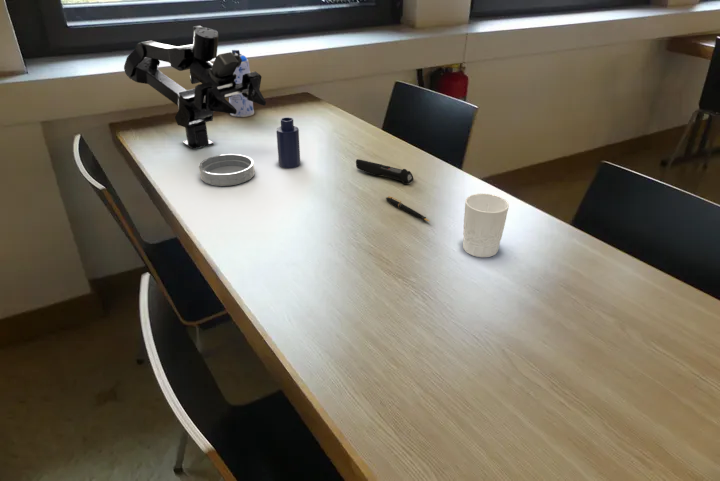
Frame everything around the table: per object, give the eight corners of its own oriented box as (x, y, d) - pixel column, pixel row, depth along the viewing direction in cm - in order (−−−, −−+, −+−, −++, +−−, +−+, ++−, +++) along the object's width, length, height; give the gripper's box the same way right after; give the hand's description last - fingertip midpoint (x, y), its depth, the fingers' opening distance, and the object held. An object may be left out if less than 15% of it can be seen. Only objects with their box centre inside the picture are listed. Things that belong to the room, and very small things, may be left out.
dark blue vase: (274, 163, 139) (271, 118, 133) (292, 158, 142) (289, 114, 136) (286, 170, 135) (283, 124, 129) (304, 164, 138) (302, 119, 132)
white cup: (503, 242, 106) (510, 197, 101) (498, 262, 99) (506, 215, 94) (463, 235, 108) (469, 190, 103) (456, 255, 101) (462, 208, 96)
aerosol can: (226, 116, 172) (218, 52, 162) (235, 109, 179) (228, 47, 169) (249, 117, 171) (243, 53, 161) (257, 110, 178) (252, 48, 168)
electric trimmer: (360, 167, 138) (360, 156, 136) (414, 180, 131) (415, 168, 129) (353, 172, 135) (352, 160, 133) (407, 186, 128) (407, 173, 126)
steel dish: (191, 174, 132) (189, 162, 131) (237, 161, 140) (236, 150, 138) (216, 191, 124) (215, 179, 122) (264, 177, 131) (263, 165, 130)
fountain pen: (432, 223, 112) (432, 217, 111) (428, 225, 111) (428, 219, 111) (387, 199, 122) (387, 193, 121) (383, 200, 121) (383, 195, 120)
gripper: (180, 52, 123) (223, 85, 118) (243, 40, 135) (284, 71, 130) (178, 94, 130) (218, 128, 125) (238, 80, 143) (277, 110, 138)
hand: (250, 107), depth 129 cm, fingers open, 9 cm apart
